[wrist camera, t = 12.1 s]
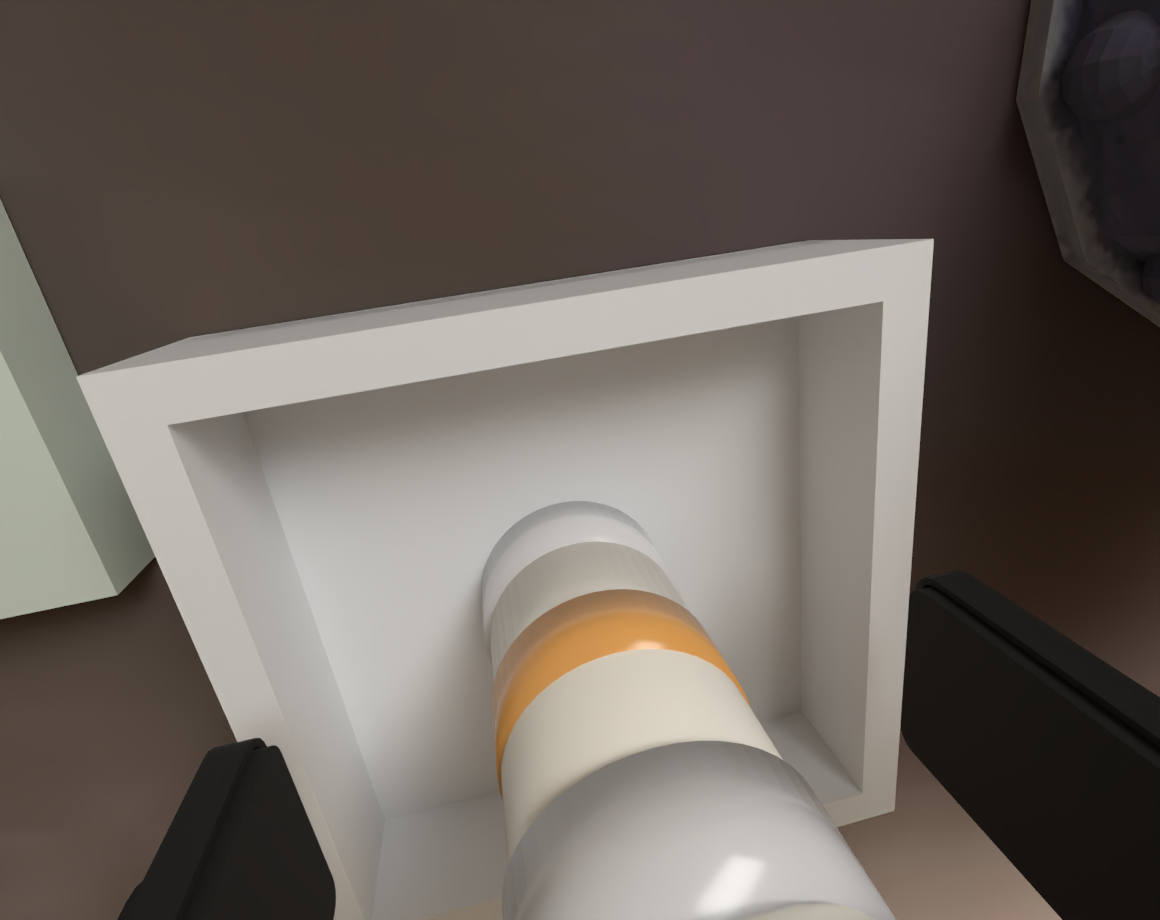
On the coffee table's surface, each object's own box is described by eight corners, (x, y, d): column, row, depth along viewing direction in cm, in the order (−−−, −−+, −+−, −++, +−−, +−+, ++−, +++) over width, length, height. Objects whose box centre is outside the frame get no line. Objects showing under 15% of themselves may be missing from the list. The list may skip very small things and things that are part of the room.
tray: (190, 337, 11) (76, 376, 8) (809, 240, 12) (934, 238, 9) (364, 816, 15) (339, 972, 12) (809, 700, 17) (894, 810, 13)
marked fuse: (464, 521, 12) (473, 974, 5) (649, 484, 12) (931, 839, 5) (499, 676, 13) (550, 1218, 6) (665, 636, 14) (904, 1091, 6)
